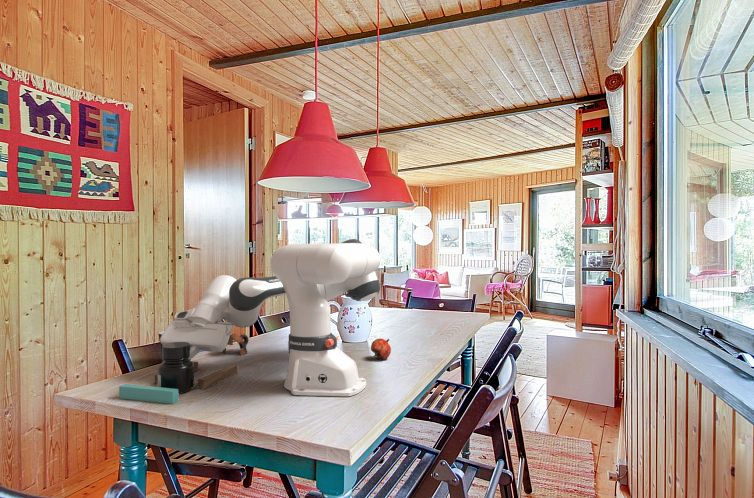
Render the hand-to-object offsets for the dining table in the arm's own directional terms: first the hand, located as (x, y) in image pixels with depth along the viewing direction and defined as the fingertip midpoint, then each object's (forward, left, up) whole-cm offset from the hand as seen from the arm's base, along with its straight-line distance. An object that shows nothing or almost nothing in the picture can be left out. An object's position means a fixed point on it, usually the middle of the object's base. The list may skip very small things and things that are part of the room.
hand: (182, 361), depth 125 cm
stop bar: (0, +13, -6) cm, 14 cm away
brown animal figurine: (+7, -37, -7) cm, 38 cm away
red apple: (-45, -42, -7) cm, 62 cm away
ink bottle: (-2, +4, -6) cm, 8 cm away
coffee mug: (+20, -21, -7) cm, 30 cm away
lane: (0, -6, -6) cm, 9 cm away
